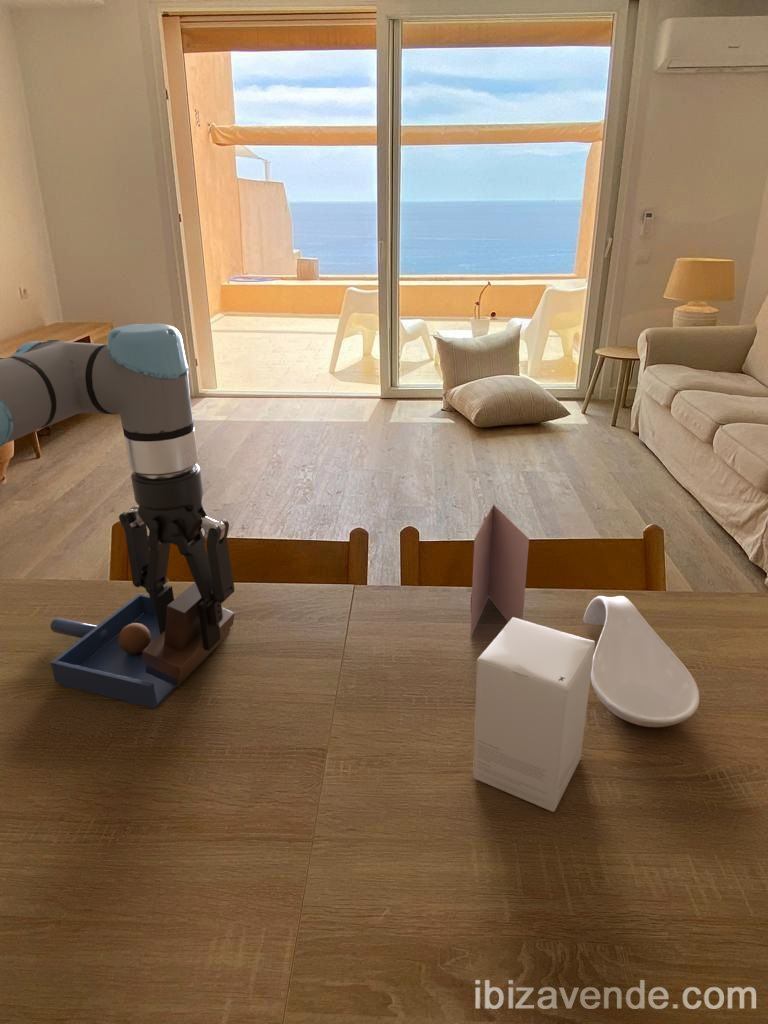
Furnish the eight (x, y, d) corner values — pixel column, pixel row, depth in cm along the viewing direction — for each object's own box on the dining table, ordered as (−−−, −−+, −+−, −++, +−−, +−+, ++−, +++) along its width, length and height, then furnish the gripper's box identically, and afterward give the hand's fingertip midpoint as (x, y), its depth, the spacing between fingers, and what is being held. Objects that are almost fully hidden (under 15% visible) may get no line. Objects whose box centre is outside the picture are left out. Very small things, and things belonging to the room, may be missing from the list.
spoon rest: (712, 744, 75) (724, 690, 72) (603, 745, 75) (611, 692, 72) (639, 622, 97) (646, 577, 94) (554, 623, 97) (559, 578, 94)
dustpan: (230, 630, 97) (227, 610, 95) (154, 708, 82) (150, 686, 80) (97, 603, 104) (93, 584, 102) (5, 671, 89) (-1, 650, 87)
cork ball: (106, 641, 90) (122, 627, 88) (126, 626, 94) (142, 612, 92) (127, 664, 90) (143, 651, 89) (146, 648, 94) (162, 635, 92)
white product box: (583, 757, 74) (599, 639, 68) (554, 815, 67) (569, 690, 61) (504, 726, 78) (512, 613, 72) (469, 778, 71) (475, 658, 65)
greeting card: (482, 594, 104) (487, 503, 98) (532, 603, 102) (540, 510, 96) (464, 636, 95) (467, 537, 88) (518, 646, 92) (526, 545, 86)
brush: (140, 673, 84) (144, 610, 79) (198, 619, 94) (204, 561, 90) (177, 690, 83) (184, 627, 78) (231, 633, 93) (240, 575, 89)
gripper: (254, 464, 78) (270, 636, 88) (119, 448, 84) (147, 611, 94) (219, 489, 72) (240, 671, 81) (74, 469, 78) (110, 642, 87)
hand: (191, 639), depth 87 cm, fingers closed on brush, 5 cm apart
